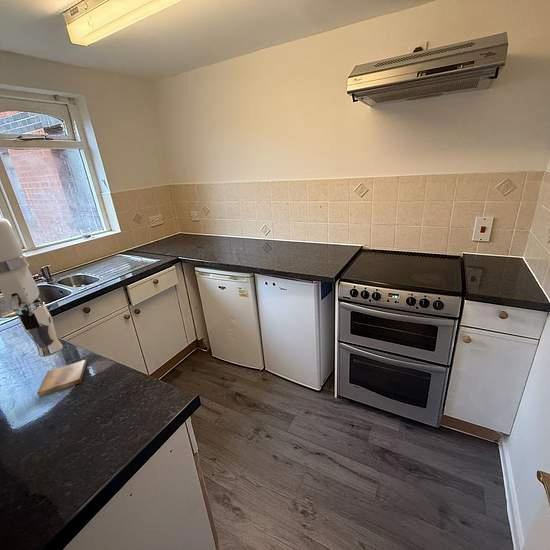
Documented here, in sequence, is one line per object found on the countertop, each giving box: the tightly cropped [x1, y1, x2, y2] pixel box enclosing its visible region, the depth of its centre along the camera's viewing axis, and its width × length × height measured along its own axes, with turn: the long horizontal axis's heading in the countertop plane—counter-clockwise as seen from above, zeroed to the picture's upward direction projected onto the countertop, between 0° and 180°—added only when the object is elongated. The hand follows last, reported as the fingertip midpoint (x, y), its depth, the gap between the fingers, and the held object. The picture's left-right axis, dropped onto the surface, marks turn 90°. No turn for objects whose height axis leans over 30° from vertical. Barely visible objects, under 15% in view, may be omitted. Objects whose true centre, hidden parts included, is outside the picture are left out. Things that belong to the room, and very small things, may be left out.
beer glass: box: [17, 301, 64, 358], centre depth 88 cm, size 7×7×15 cm
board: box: [36, 359, 87, 397], centre depth 94 cm, size 11×11×2 cm
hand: (37, 321), depth 87 cm, fingers closed on beer glass, 7 cm apart
